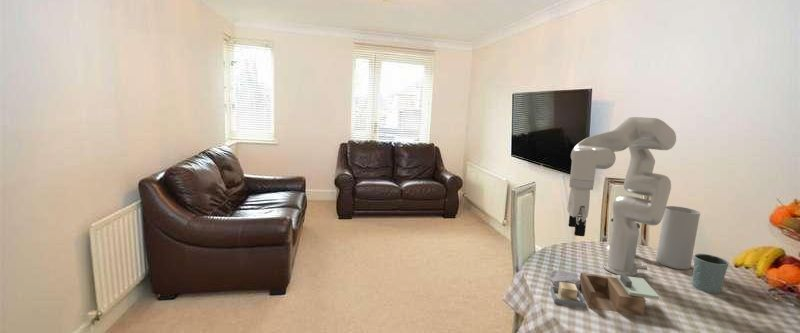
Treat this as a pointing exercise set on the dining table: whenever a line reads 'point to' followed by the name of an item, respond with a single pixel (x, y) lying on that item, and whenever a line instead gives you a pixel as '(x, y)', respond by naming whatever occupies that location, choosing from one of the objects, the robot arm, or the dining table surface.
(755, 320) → the dining table surface
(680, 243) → the cylinder vase
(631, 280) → the sliding lid
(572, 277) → the stone block
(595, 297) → the brown open box
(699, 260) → the teal plant pot
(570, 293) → the birch block
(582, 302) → the gray tray
